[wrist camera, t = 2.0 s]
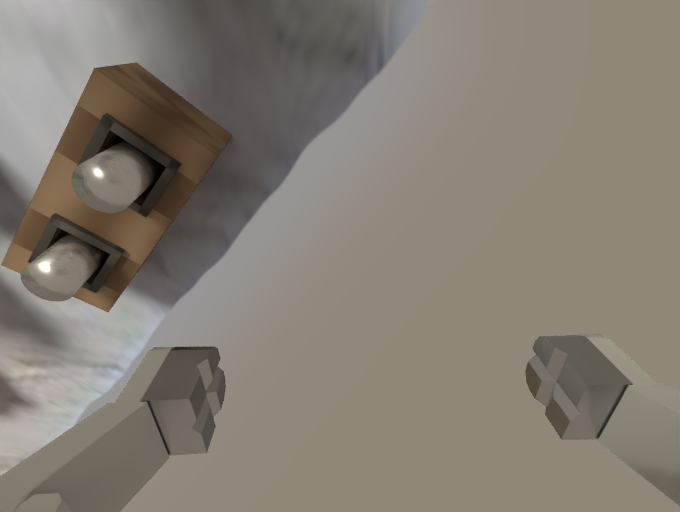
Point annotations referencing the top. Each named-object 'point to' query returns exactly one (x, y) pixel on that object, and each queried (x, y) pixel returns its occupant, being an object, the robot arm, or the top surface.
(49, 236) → the walnut block
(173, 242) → the top surface
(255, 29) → the top surface
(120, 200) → the steel peg
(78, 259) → the steel peg
